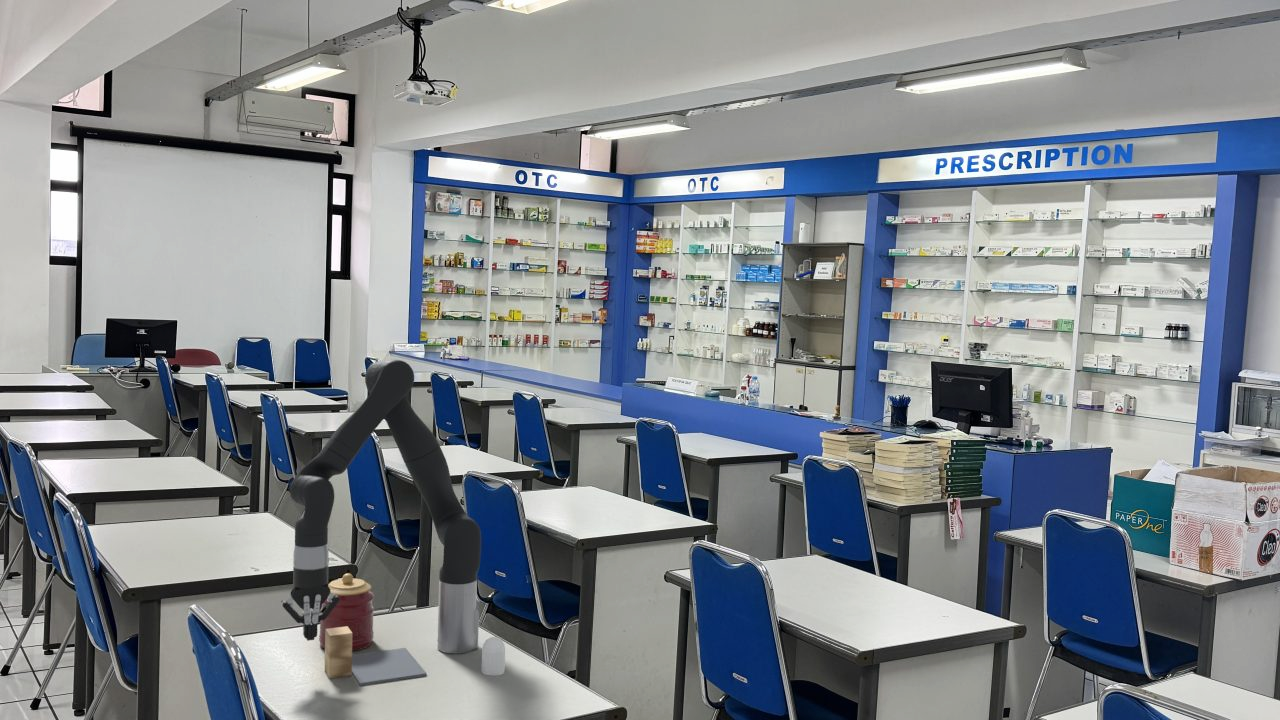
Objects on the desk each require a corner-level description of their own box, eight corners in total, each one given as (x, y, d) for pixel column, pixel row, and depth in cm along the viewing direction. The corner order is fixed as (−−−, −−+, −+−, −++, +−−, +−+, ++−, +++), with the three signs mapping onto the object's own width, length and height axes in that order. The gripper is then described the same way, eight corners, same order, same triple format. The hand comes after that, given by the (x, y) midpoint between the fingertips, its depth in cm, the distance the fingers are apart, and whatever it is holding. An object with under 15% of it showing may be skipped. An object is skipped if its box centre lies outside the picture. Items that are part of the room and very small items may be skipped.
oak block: (346, 668, 236) (347, 626, 235) (351, 675, 231) (352, 632, 231) (324, 671, 233) (325, 628, 233) (329, 679, 229) (329, 635, 228)
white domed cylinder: (508, 673, 236) (509, 639, 236) (486, 676, 234) (487, 642, 233) (499, 665, 241) (500, 632, 240) (478, 669, 238) (478, 635, 238)
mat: (405, 650, 249) (405, 647, 249) (426, 675, 233) (426, 673, 233) (342, 658, 241) (342, 656, 241) (359, 685, 226) (359, 683, 226)
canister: (376, 634, 259) (377, 566, 258) (369, 652, 246) (371, 581, 245) (323, 635, 257) (325, 566, 256) (314, 653, 244) (315, 581, 243)
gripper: (337, 556, 234) (336, 630, 235) (277, 562, 228) (276, 637, 229) (344, 564, 227) (343, 640, 228) (282, 570, 221) (282, 648, 222)
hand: (310, 639), depth 229 cm, fingers closed
